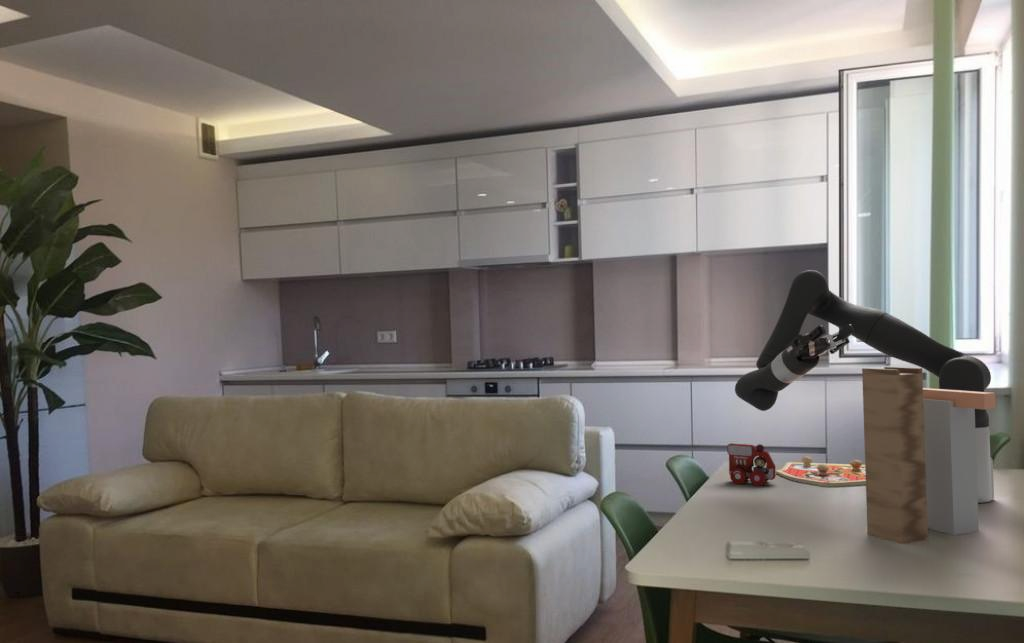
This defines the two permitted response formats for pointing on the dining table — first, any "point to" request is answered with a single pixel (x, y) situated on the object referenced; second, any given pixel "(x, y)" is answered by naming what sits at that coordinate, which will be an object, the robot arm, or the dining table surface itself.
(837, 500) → the dining table surface
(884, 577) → the dining table surface
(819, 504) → the dining table surface
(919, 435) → the tower
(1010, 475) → the dining table surface
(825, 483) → the knob puzzle
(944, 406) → the cradle
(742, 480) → the toy fire truck
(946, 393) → the stick
